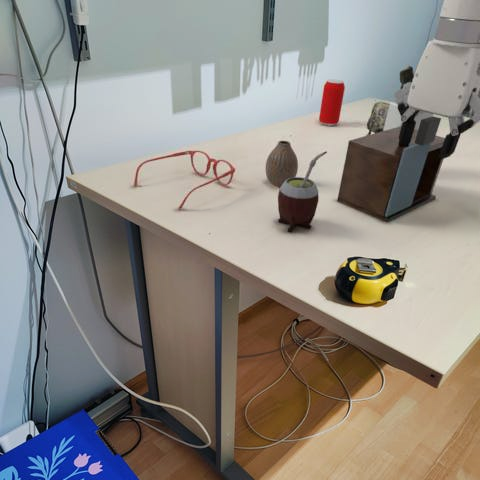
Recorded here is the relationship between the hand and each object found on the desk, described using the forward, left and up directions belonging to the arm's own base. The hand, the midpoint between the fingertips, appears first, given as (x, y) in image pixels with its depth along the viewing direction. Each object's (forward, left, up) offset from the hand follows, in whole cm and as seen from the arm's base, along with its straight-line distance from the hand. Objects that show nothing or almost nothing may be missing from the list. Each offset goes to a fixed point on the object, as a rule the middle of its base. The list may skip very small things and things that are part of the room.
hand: (423, 150), depth 76 cm
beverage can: (+50, -37, -12) cm, 64 cm away
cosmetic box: (+14, -18, -12) cm, 26 cm away
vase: (+25, +10, -12) cm, 30 cm away
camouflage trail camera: (+24, -27, -12) cm, 38 cm away
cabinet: (+6, -2, -12) cm, 14 cm away
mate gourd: (+9, +22, -12) cm, 27 cm away
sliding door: (0, +3, -11) cm, 11 cm away
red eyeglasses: (+35, +28, -12) cm, 46 cm away
